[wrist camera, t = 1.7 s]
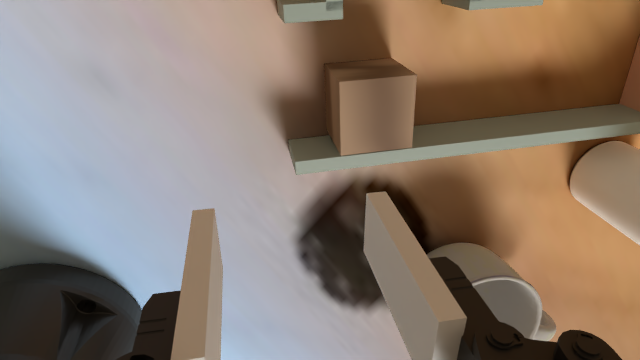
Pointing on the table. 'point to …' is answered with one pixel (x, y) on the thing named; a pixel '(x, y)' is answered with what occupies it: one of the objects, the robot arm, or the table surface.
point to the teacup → (501, 289)
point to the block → (369, 105)
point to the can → (610, 185)
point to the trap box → (470, 135)
